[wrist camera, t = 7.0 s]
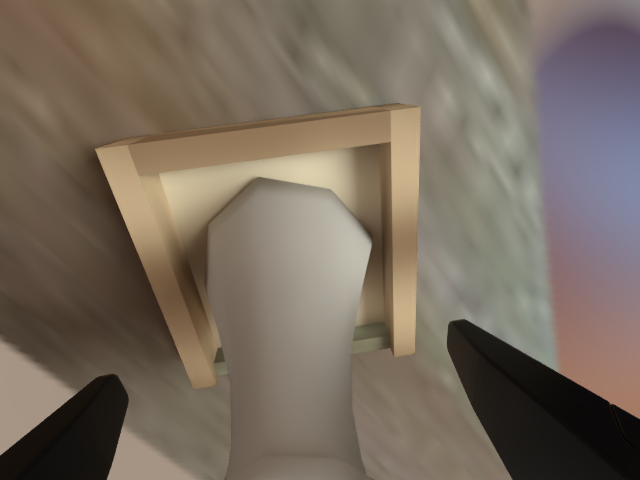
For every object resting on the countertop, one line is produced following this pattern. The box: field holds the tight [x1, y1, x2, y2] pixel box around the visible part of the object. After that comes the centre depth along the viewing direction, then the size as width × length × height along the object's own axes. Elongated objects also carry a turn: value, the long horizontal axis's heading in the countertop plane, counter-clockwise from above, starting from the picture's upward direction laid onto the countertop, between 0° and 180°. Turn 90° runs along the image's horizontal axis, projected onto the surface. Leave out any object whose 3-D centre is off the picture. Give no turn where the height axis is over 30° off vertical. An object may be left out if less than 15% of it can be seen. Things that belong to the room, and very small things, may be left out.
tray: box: [95, 103, 421, 389], centre depth 14 cm, size 11×10×2 cm
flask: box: [204, 177, 374, 480], centre depth 10 cm, size 7×7×10 cm
